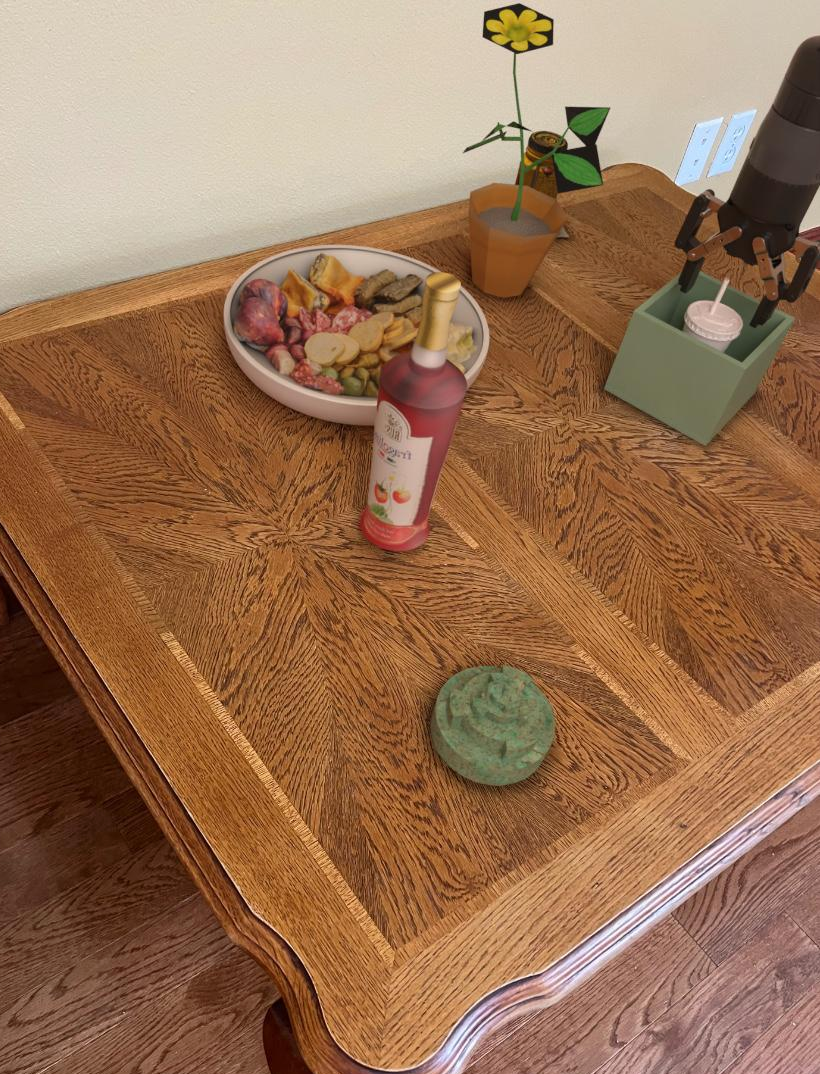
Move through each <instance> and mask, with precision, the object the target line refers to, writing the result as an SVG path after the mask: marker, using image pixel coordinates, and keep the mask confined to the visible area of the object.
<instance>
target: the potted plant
mask: <svg viewBox="0 0 820 1074" xmlns="http://www.w3.org/2000/svg"><path fill="white" fill-rule="evenodd" d="M554 21H555V19H554V18H552V17H550V16H548V15H545V14H544V13H542V12H539V11H538V10H535V9H532V8H531V7H529V6H526V5H524V4H523V3H520V2H518V3H513V4H510V5H506V6H502V7H498V8H493V9H489V10H485V11H483V22H482V38H483V39H485V40H488V41H489V42H491V43H493V44H495V45H497V46H500V47H502V48H503V49H505V50H508V51H509V52H511V53H513V61H512V62H513V63H512V66H513V67H512V76H513V85H514V94H515V104H516V112H517V121H518V122H516V121H515V120H514V121H511V122H510V123H508V124H506V125H504V124H502V123H501V124H500V122H499V121H497V125H496V126H495V127H493V128H492V130H491V131H490V132H489V133H488V134H487V135H485V137H484V138H483V139H482V140H481V141H480V142H477V143H473V144H472V145H469V146H467V147H466V148H465V149H464V150H463V152H462V153H461V154H465V153H468V152H470V151H472V150H475V149H477V148H481V147H482V146H485V145H487V144H490V143H492V142H495V141H497V140H499V139H500V140H501V141H502V142H519V143H520V144H519V145H520V161H521V174H520V181H519V185H515V184H513V183H512V184H511V183H502V182H501V183H500V182H492V183H489V184H487V185H484V186H482V187H479V188H477V189H474V190H471V191H470V193H469V202H468V209H467V210H468V211H467V212H468V227H469V228H468V229H469V245H470V246H469V247H470V265H471V280H472V283H473V284H474V285H475V286H476V287H477V288H478V289H479V290H481V292H483V293H484V294H488V295H491V296H495V297H499V298H502V299H504V298H511V297H512V298H513V297H518V296H521V295H522V293H523V292H524V291H525V290H526V288H527V287H528V286H529V284H530V282H531V280H532V279H533V277H534V275H535V274H536V272H537V270H538V269H539V267H540V265H541V264H542V262H543V261H544V259H545V257H546V256H547V254H548V252H549V251H550V249H551V247H552V246H553V244H554V243H555V241H556V239H557V238H558V237H557V236H558V234H559V232H560V231H561V229H562V227H563V228H564V226H565V224H566V222H567V221H568V219H569V217H568V216H567V214H566V212H565V211H564V209H563V207H562V206H561V205H560V202H558V199H557V198H556V199H554V198H552V197H550V196H548V195H546V194H544V193H541V192H539V191H537V190H535V189H533V188H531V187H529V186H524V185H523V179H524V173H526V172H527V171H529V170H530V169H532V168H533V167H535V166H536V165H538V164H539V163H541V162H542V161H544V160H545V159H547V158H548V157H550V156H551V155H552V159H553V166H554V172H555V178H556V184H557V191H558V194H564V193H568V192H569V193H570V192H574V191H580V190H584V189H590V188H591V189H592V188H596V187H601V186H604V181H603V174H602V169H601V164H600V163H601V162H600V157H599V151H598V145H597V144H596V143H597V141H598V139H599V136H600V134H601V132H602V129H603V126H604V125H605V122H606V120H607V117H608V115H609V113H610V110H611V107H610V106H609V107H608V106H607V107H605V106H603V107H602V106H564V110H565V117H566V124H567V125H566V126H567V128H566V129H565V131H564V132H563V134H561V136H562V137H561V138H560V140H559V141H558V143H557V144H556V146H555V147H554V149H553V150H552V152H550V153H548V154H547V155H545V156H543V157H542V158H540V159H539V160H537V161H535V162H534V163H532V164H531V165H529V166H527V167H526V168H525V167H524V153H525V145H524V144H525V143H524V142H525V141H524V140H525V139H524V131H527V132H532V133H534V131H533V130H531V129H529V128H527V127H525V126H524V125H523V121H522V116H521V115H522V114H521V107H520V100H519V91H518V82H517V74H516V73H517V72H516V71H517V55H519V54H520V55H521V54H523V53H527V52H532V51H536V50H539V49H543V48H547V47H551V46H554V23H555V22H554ZM506 127H508V128H514V129H518V130H519V136H506V134H507V133H508V130H506V131H503V129H504V128H506ZM569 130H570V131H571V132H572V133H573V135H574V136H575V137H577V138H578V140H580V142H581V143H583V144H584V145H583V146H579V147H574V148H569V149H568V148H567V150H562V151H557V152H555V151H556V150H557V148H558V146H559V144H560V143H561V141H562V139H563V138H564V139H565V136H566V134H567V133H568V131H569ZM497 132H499V134H496V133H497ZM495 134H496V135H495ZM493 135H494V136H493ZM491 136H492V137H491Z"/></svg>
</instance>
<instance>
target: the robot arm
mask: <svg viewBox="0 0 820 1074" xmlns="http://www.w3.org/2000/svg"><path fill="white" fill-rule="evenodd" d="M748 148H749V150H748V152H747V155H746V157H745V160H744V162H743V164H742V166H741V168H740V170H739V173H738V175H737V177H736V180H735V182H734V185H733V187H732V190H731V192H730V193H729V197H728V199H727V200H726V201H724V200H722V199H720V198H718V197H716V194H715V190H713V189H712V188H708V189H706V190H704V191H703V192H701V193H700V194H698V196H696V197H695V198H694V199H693V201H692V204H691V206H690V208H689V209H688V212H687V214H686V216H685V219H684V220H683V222H682V225H681V227H680V229H679V231H678V233H677V236H676V238H675V240H674V247H675V248H676V249H677V250H682V251H683V252H684V253H685V256H686V260H685V262H684V265H683V267H682V270H681V272H680V273H681V275H680V277H679V279H678V284H679V285H681V288H680V291H681V292H683V293H685V294H686V293H687V292H688V291H689V290H691V289H692V287H693V286H694V284H695V281H696V279H697V277H698V275H699V272H700V271H701V269H702V267H703V265H704V263H705V260H706V255H709V254H712V253H713V252H715V251H717V250H719V249H720V248H723V249H724V251H726V253H725V254H726V255H727V256H730V257H732V258H738V259H740V260H741V261H743V262H744V263H745V264H746V265H749V266H751V267H754V266H757V268H758V272H759V276H760V280H761V281H763V285H764V290H765V295H763V297H762V298H761V300H760V301H761V302H760V304H759V306H758V308H757V310H756V312H755V314H754V316H753V318H752V320H751V322H750V324H749V326H751V327H753V328H756V327H757V326H758V325H761V326H762V325H763V324H765V323H766V322H767V321H768V320H769V319H770V318H771V316H772V314H773V312H774V310H775V308H776V309H777V307H778V304H779V303H780V301H786V302H787V303H789V304H793V303H795V302H796V301H797V300H798V299H800V298H801V296H803V294H804V293H805V292H806V290H807V288H808V286H809V285H810V282H811V279H812V277H813V276H814V273H815V270H816V268H817V267H818V264H819V261H820V238H819V239H816V240H815V241H812V240H810V239H807V238H805V237H801V236H800V227H801V224H802V223H803V220H804V218H805V216H806V215H807V212H808V211H809V208H810V206H811V204H812V202H813V200H814V198H815V196H816V194H817V192H818V190H819V189H820V35H814V36H811V37H808V38H806V39H804V40H803V41H802V42H801V43H800V44H799V45H798V46H797V48H796V50H795V52H794V54H793V55H792V58H791V60H790V62H789V64H788V66H787V69H786V71H785V73H784V76H783V78H782V81H781V83H780V85H779V87H778V89H777V92H776V94H775V97H774V99H773V101H772V103H771V105H770V108H769V110H768V111H767V113H766V115H765V116H764V118H763V120H762V122H761V123H760V125H759V127H758V129H757V131H756V134H755V136H754V137H753V139H752V140H751V142H750V145H749V147H748ZM715 213H716V218H717V219H716V220H717V225H718V228H719V231H718V232H715V233H714V234H712V235H711V236H710V237H708V238H705V239H704V240H702V241H700V240H699V239H698V238H697V237H696V236H697V234H698V232H699V230H700V228H701V226H702V224H703V222H704V220H705V219H708V218H709V217H710V216H712V215H713V214H715ZM791 249H793V250H794V251H795V256H794V257H795V261H796V263H798V266H797V268H796V270H795V273H794V274H793V277H792V280H791V282H790V283H788V282H787V277H786V272H785V271H786V270H785V267H786V261H785V256H784V255H785V254H784V253H786V252H789V251H790V250H791Z"/></svg>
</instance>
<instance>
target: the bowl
mask: <svg viewBox="0 0 820 1074" xmlns="http://www.w3.org/2000/svg"><path fill="white" fill-rule="evenodd" d="M435 272H442V270H441V271H440V270H439V269H437V268H436V267H434V266H432V265H429V264H428V263H425V262H422V261H420V260H418V259H417V258H413V257H410V256H407V255H404V254H401V253H398V252H394V251H390V250H387V249H382V248H376V247H370V246H364V245H353V244H319V245H311V246H304V247H297V248H294V249H290V250H285V251H282V252H279V253H276V254H273V255H271V256H269V257H266V258H264V259H263V260H261V261H258V262H257V263H255V264H253V265H252V266H251V267H249V268H248V269H247V270H245V271H244V272H243V273H241V275H240V276H238V278H237V279H236V280H235V281H234V283H233V284H232V285H231V287H230V289H229V290H228V293H227V295H226V297H225V301H224V305H223V328H224V335H225V339H226V342H227V346H228V349H229V350H230V353H231V355H232V357H233V359H234V360H235V362H236V364H237V365H238V367H239V369H240V370H241V371H242V372H243V374H245V376H246V377H247V378H248V379H249V380H250V381H251V382H252V383H253V384H254V385H255V386H256V387H257V388H258V389H260V390H261V391H262V392H263V393H264V394H266V395H267V396H269V397H271V399H273V400H275V401H276V402H278V403H280V404H282V405H284V406H286V407H287V408H289V409H292V410H294V411H295V412H298V413H301V414H304V415H307V416H309V417H312V418H316V419H319V420H323V421H326V422H330V423H331V422H333V423H335V424H336V423H337V424H343V425H351V426H362V427H363V426H365V427H366V426H367V427H370V426H371V427H375V417H376V408H377V399H378V390H379V379H380V372H381V369H382V367H383V365H384V364H385V363H386V362H387V361H388V360H389V359H391V358H393V357H395V356H397V355H400V354H404V353H408V352H412V349H413V345H414V342H415V339H416V335H417V332H418V329H419V325H420V322H421V319H422V315H423V307H422V298H423V292H424V287H425V282H426V278H427V276H428V275H429V274H431V273H435ZM489 347H490V328H489V325H488V321H487V319H486V315H485V314H484V311H483V309H482V308H481V307H480V305H479V304H478V302H477V301H476V300H475V298H474V297H473V296H472V294H470V293H469V292H468V290H467V289H466V288H465V287H464V286H462V285H461V286H460V291H459V296H458V300H457V305H456V307H455V310H454V312H453V315H452V317H451V320H450V327H449V336H448V345H447V354H446V359H448V360H449V361H450V362H452V363H453V364H454V365H455V366H457V367H458V368H459V369H460V370H461V372H462V373H463V374H464V376H465V378H466V381H467V391H468V390H469V389H470V388H471V387H472V386H473V384H474V383H475V381H476V380H477V378H478V377H479V375H480V373H481V371H482V369H483V367H484V365H485V363H486V359H487V355H488V352H489Z"/></svg>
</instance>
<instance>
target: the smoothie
mask: <svg viewBox="0 0 820 1074" xmlns="http://www.w3.org/2000/svg"><path fill="white" fill-rule="evenodd" d="M722 282H723V284H722V286H721V288H720V290H719V292H718V294H717V297H716V299H715V301H706V300H703V301H697V302H694V303H692V304H690V305H689V307H688V309H687V311H686V312H685V315H684V320H685V324H684V327H683V330H682V332H684V333H686V334H688V335H690V336H692V337H694V338H696V339H698V340H700V341H702V342H703V343H705V344H707V345H709V346H711V347H713V348H715V349H717V350H719V351H721V352H723V353H724V352H725V350H726V349H727V348H728V346H729V344H730V343H731V341H732V340H733V339H735V338H737V337H738V336H739V335H740V331H741V329H742V327H743V321H742V319H741V317H740V316H739V314H738V313H737V312H735V311H734V310H733V309H731V308H730V307H728V306H726V305H724V304H721V303H719V302H720V300H721V298H722V296H723V294H724V292H725V290H726V287H727V285H729V283H730V278H728V277H724V279H723V281H722Z"/></svg>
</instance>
